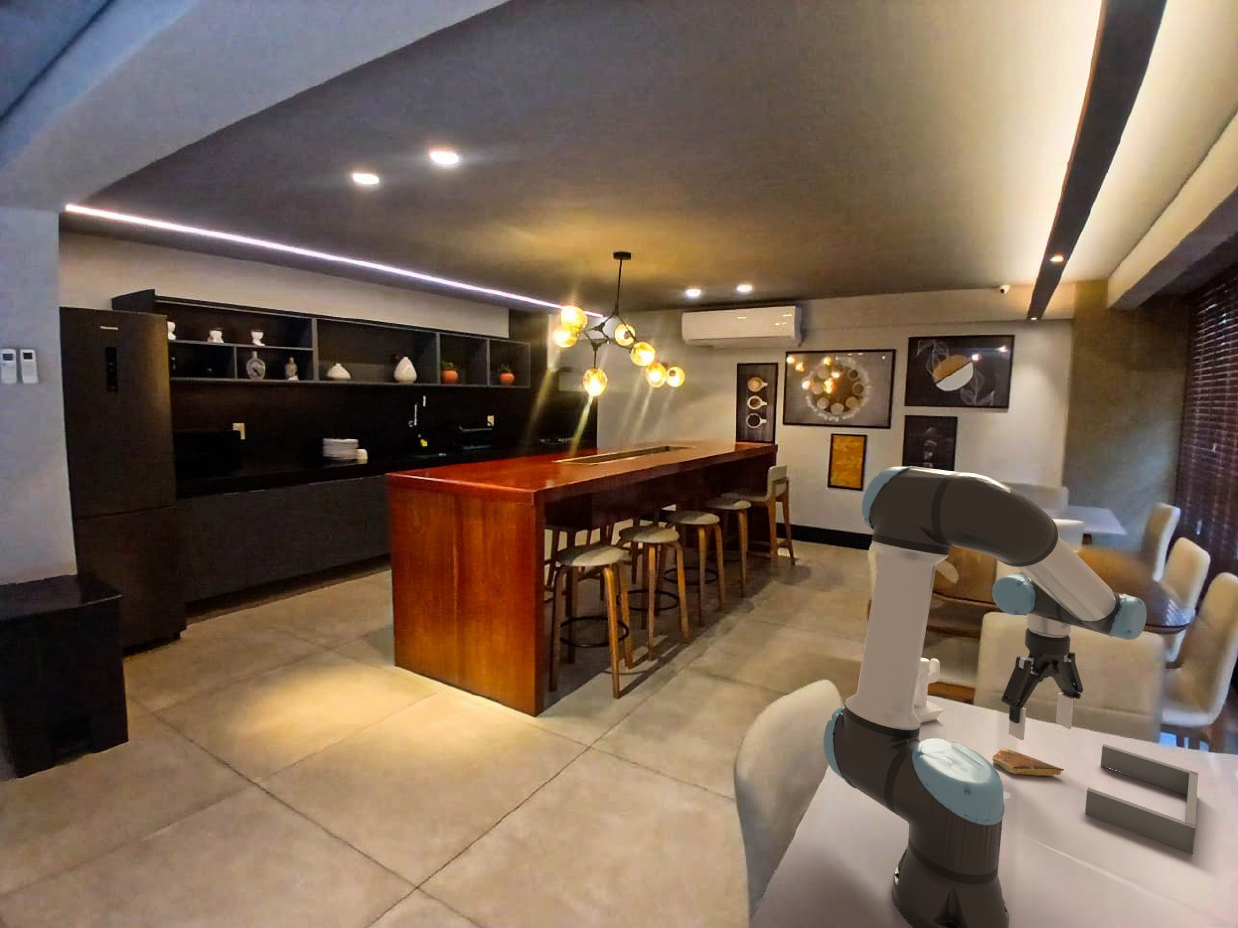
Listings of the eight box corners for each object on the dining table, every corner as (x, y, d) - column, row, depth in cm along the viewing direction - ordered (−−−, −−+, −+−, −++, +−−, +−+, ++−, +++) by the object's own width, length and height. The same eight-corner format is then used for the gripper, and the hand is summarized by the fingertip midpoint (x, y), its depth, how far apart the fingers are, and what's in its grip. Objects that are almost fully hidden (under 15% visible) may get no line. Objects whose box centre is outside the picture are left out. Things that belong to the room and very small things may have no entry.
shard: (1064, 776, 124) (1064, 767, 124) (1051, 791, 119) (1051, 782, 119) (1003, 753, 132) (1004, 745, 132) (989, 766, 127) (990, 758, 127)
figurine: (892, 715, 148) (895, 655, 147) (921, 709, 152) (925, 650, 150) (916, 730, 142) (920, 667, 140) (946, 723, 145) (950, 662, 144)
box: (1085, 813, 113) (1087, 790, 113) (1101, 764, 129) (1103, 743, 129) (1192, 853, 103) (1195, 828, 103) (1195, 794, 119) (1198, 772, 119)
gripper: (1020, 645, 117) (1013, 751, 119) (1109, 630, 126) (1101, 729, 128) (985, 631, 124) (979, 731, 126) (1071, 618, 133) (1064, 712, 135)
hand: (1040, 731), depth 127 cm, fingers open, 13 cm apart
